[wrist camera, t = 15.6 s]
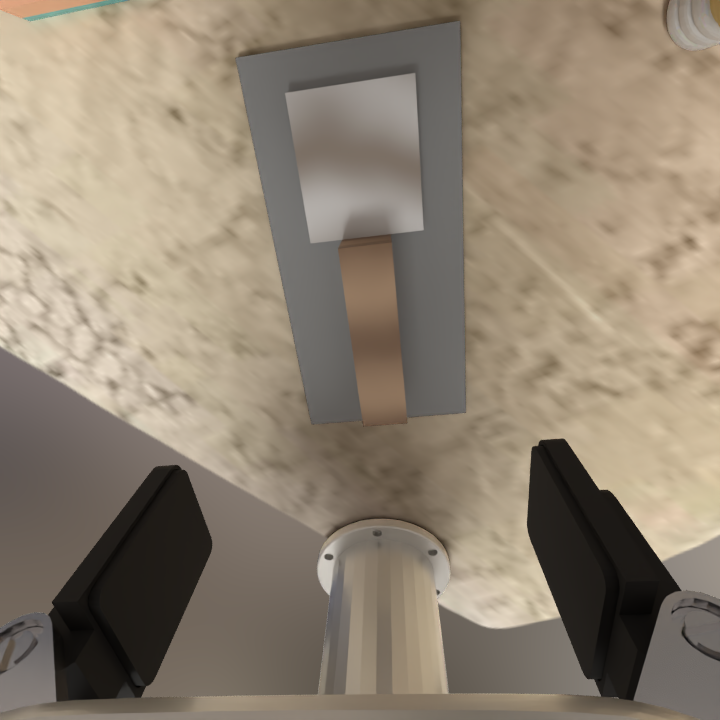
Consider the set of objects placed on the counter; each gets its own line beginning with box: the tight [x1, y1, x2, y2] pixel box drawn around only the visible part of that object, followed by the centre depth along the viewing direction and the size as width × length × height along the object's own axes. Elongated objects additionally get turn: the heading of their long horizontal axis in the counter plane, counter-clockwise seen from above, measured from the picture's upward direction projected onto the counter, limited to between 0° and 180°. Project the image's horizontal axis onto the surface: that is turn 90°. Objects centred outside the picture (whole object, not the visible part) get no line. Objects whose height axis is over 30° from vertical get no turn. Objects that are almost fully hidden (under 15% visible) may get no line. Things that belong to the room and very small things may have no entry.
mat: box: [236, 21, 466, 424], centre depth 27 cm, size 24×12×1 cm, turn 7°
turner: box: [285, 73, 424, 426], centre depth 25 cm, size 20×7×4 cm, turn 7°
